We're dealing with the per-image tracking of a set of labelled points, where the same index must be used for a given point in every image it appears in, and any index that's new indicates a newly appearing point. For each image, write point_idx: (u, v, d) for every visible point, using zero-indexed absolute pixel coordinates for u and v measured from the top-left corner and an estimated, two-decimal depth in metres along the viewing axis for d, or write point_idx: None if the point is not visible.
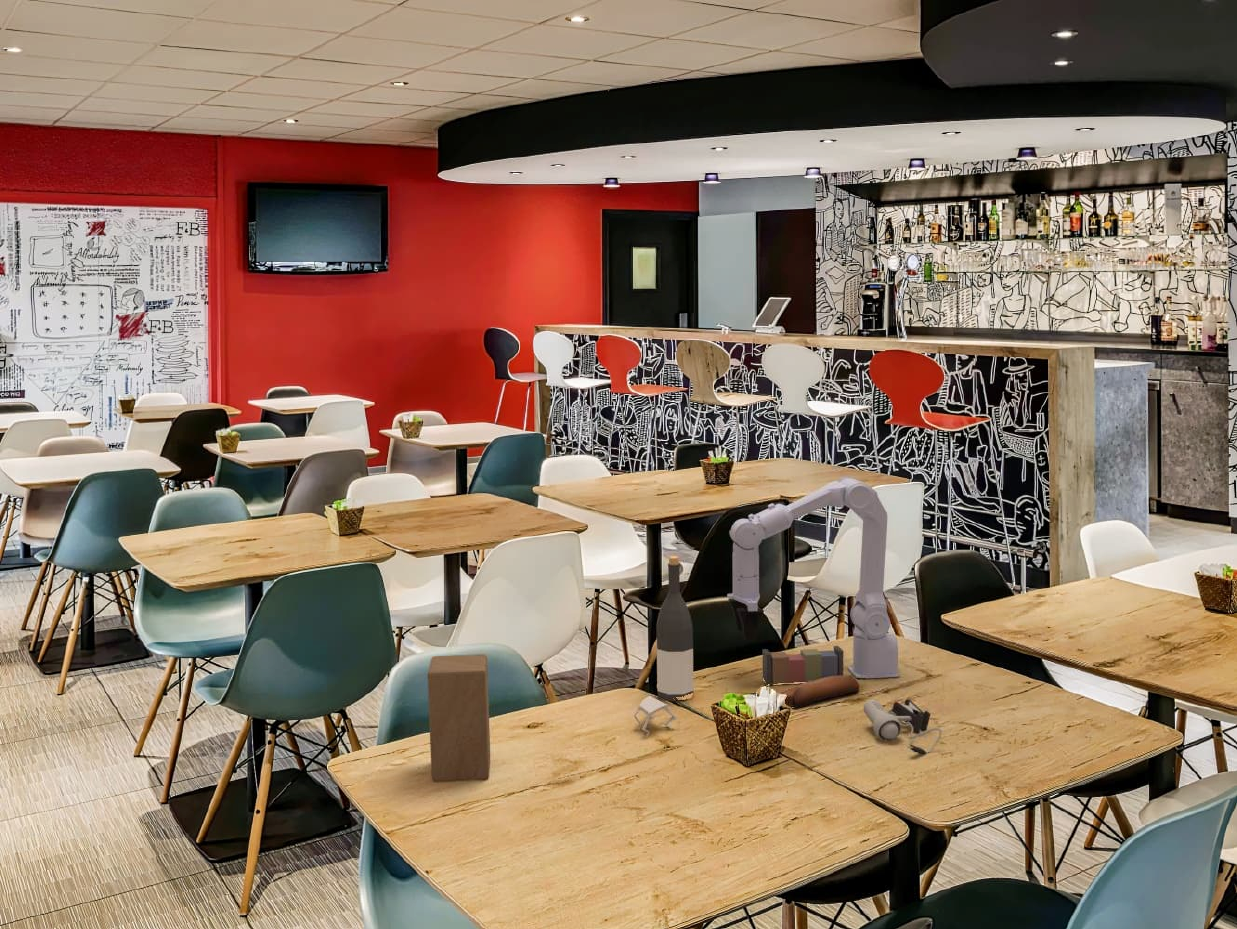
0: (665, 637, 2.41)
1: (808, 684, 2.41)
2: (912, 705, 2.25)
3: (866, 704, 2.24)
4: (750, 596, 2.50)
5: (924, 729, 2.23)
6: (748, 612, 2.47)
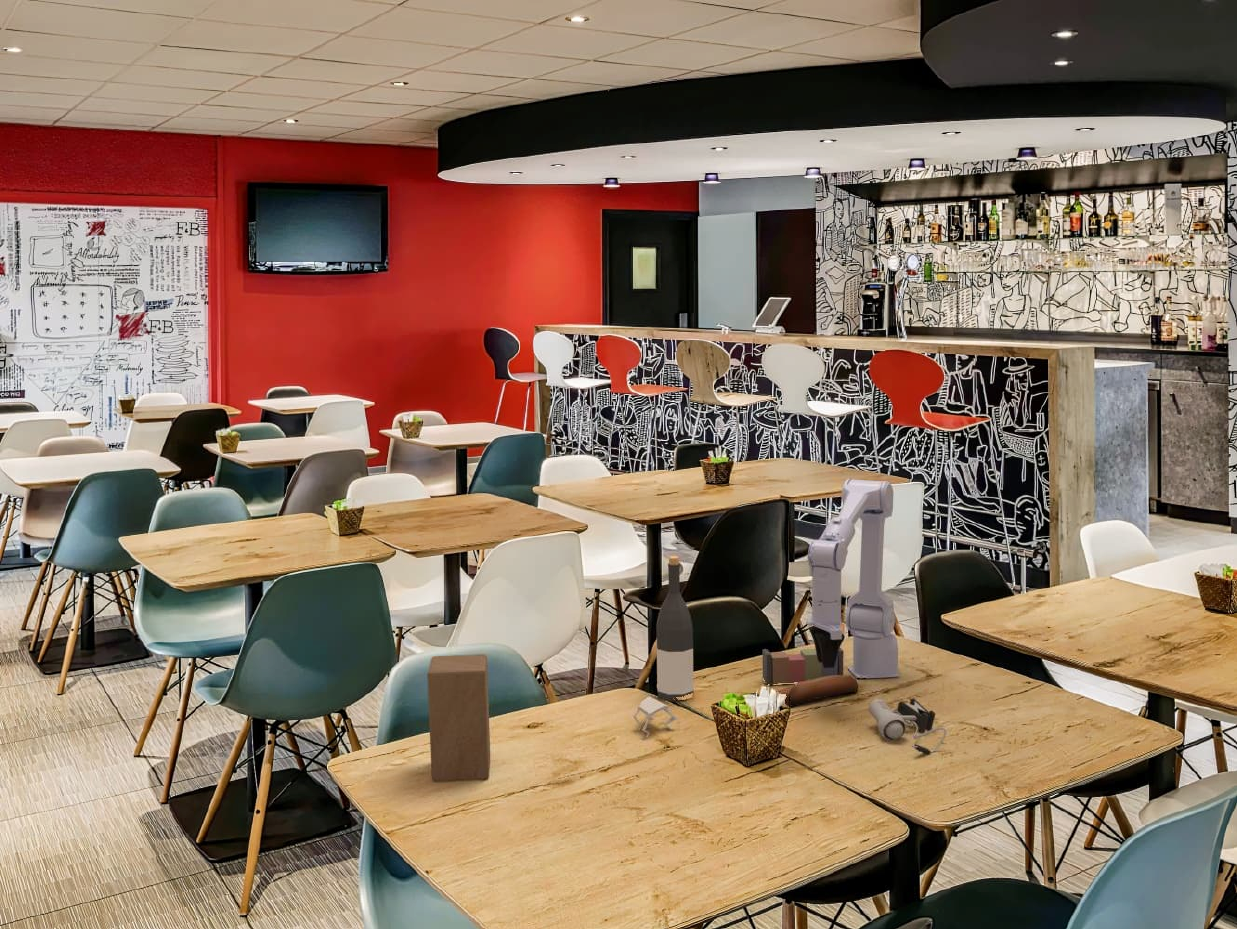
0: (665, 637, 2.41)
1: (806, 683, 2.42)
2: (917, 705, 2.26)
3: (871, 703, 2.25)
4: (832, 623, 2.31)
5: (929, 729, 2.23)
6: (828, 638, 2.30)
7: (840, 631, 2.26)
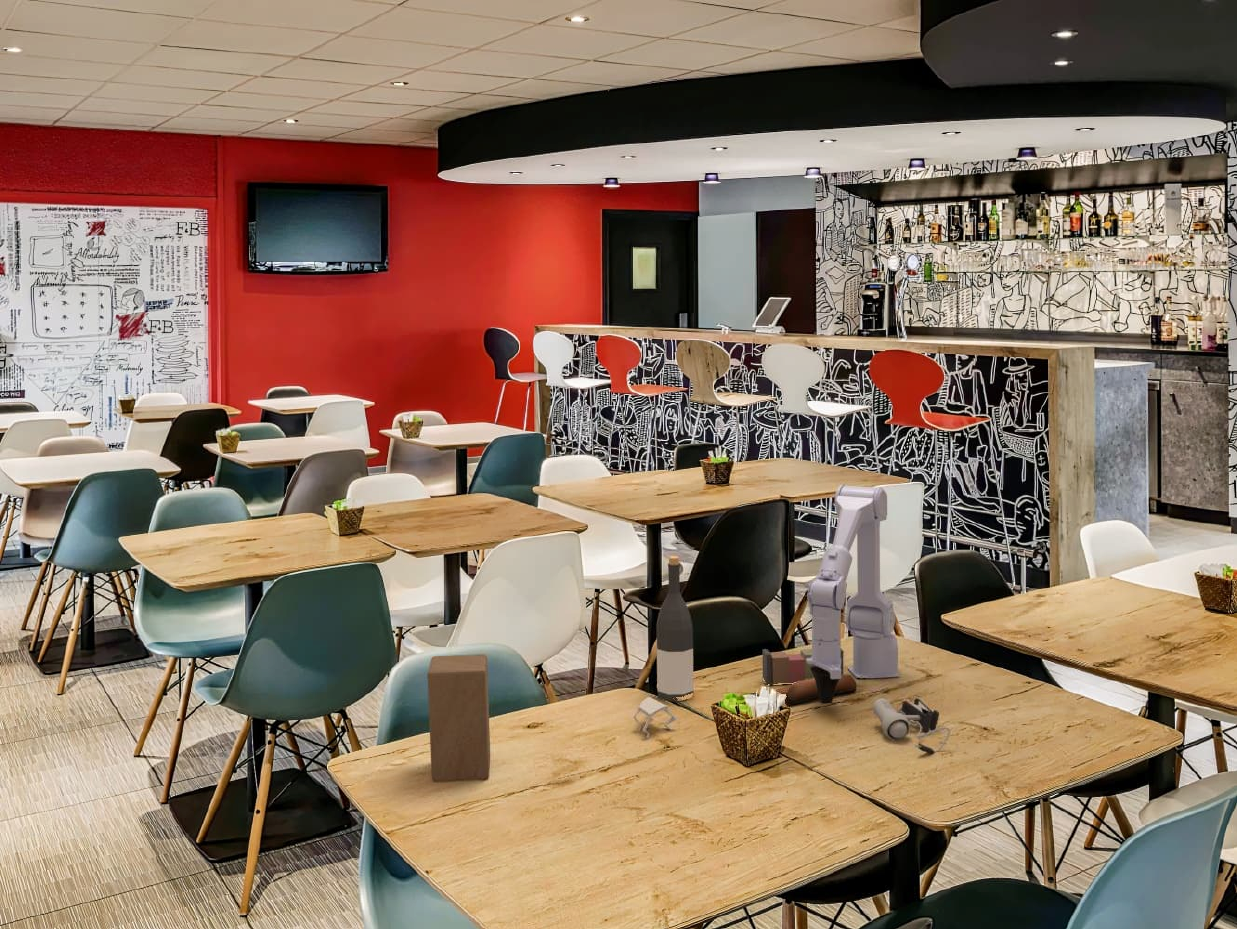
0: (665, 637, 2.41)
1: (804, 682, 2.42)
2: (921, 704, 2.26)
3: (875, 703, 2.25)
4: (832, 662, 2.32)
5: (933, 728, 2.23)
6: (826, 674, 2.32)
7: (840, 671, 2.28)
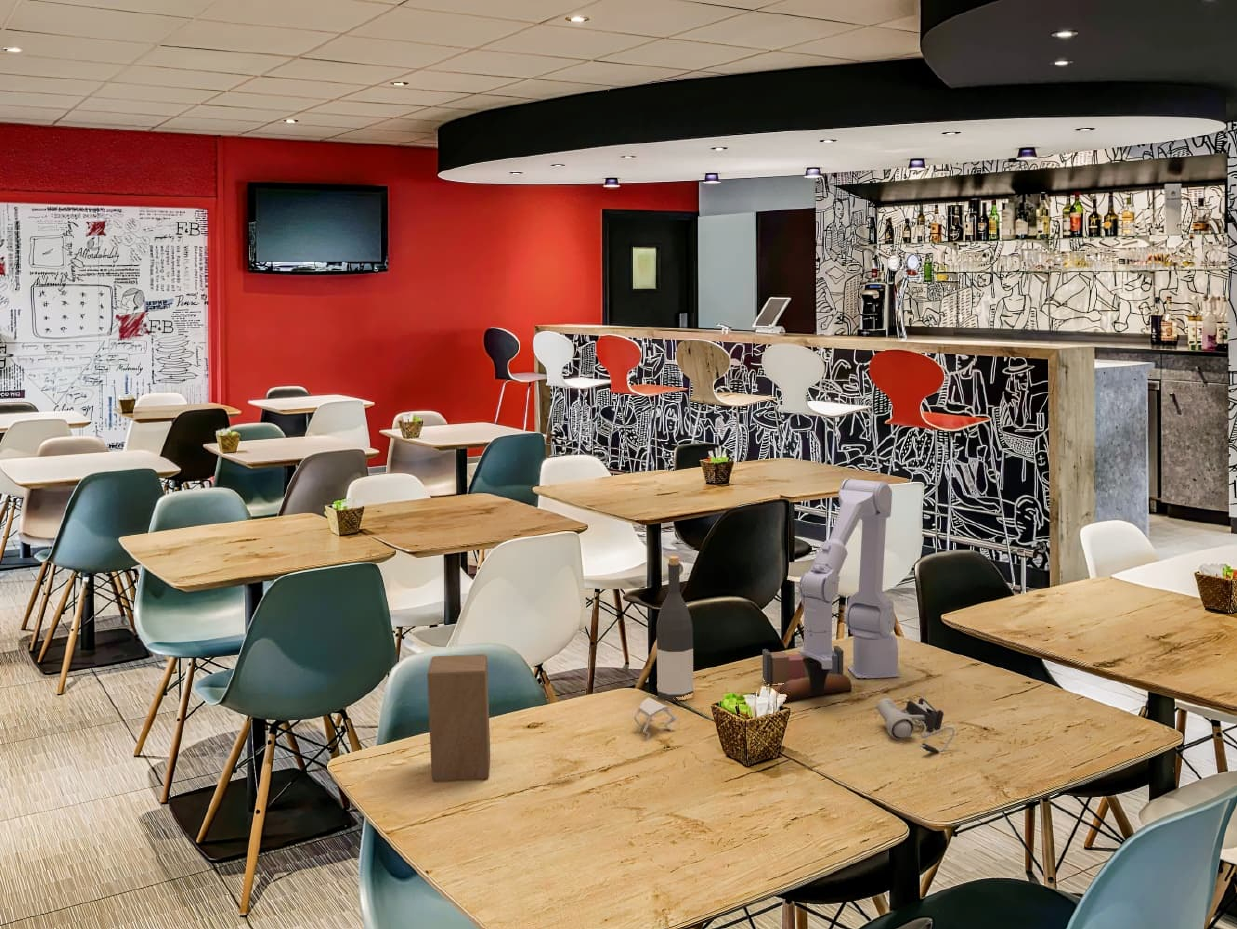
0: (665, 637, 2.41)
1: (797, 680, 2.44)
2: (926, 704, 2.26)
3: (880, 702, 2.25)
4: (823, 652, 2.38)
5: (937, 728, 2.23)
6: (817, 664, 2.38)
7: (831, 661, 2.33)
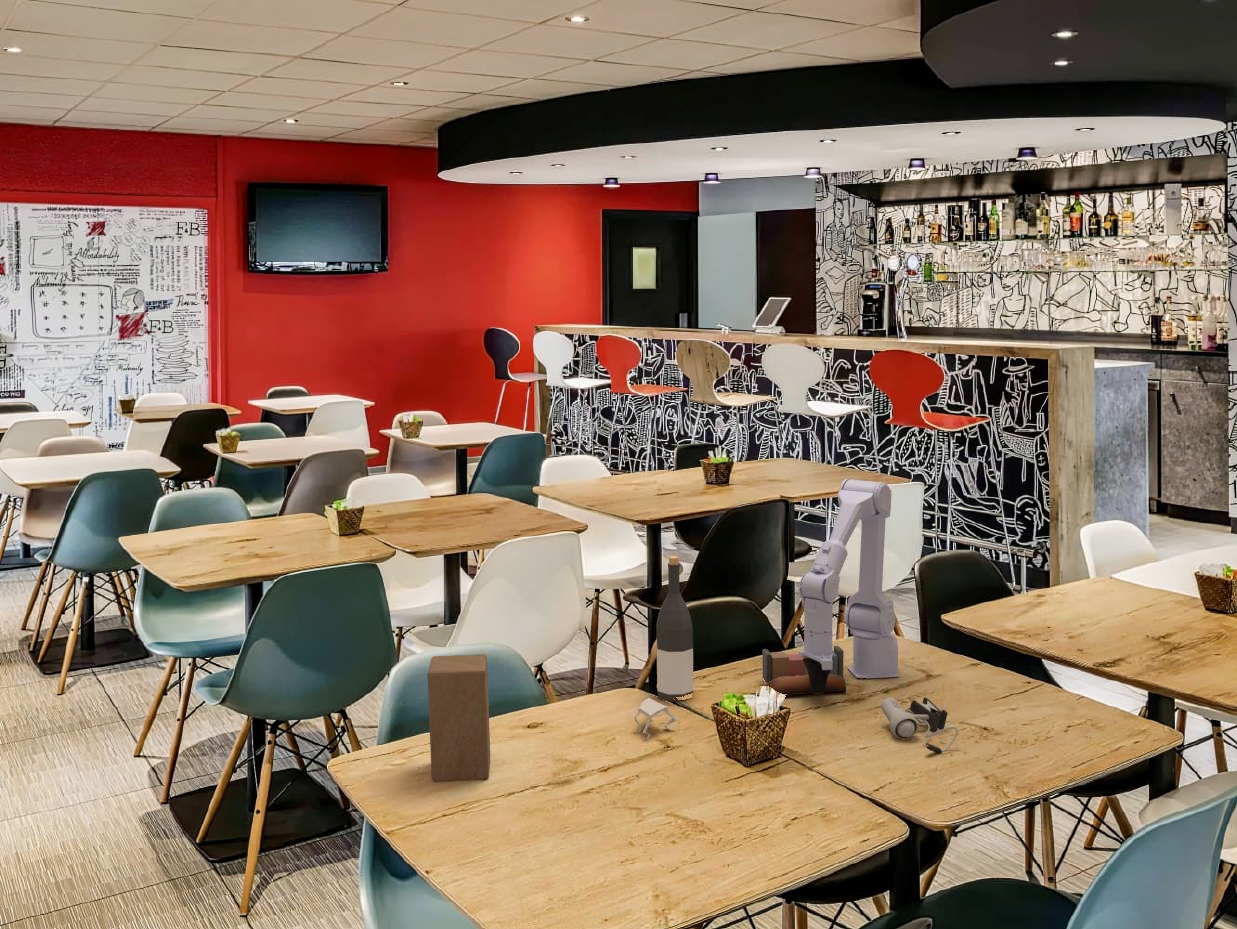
0: (665, 637, 2.41)
1: (788, 677, 2.45)
2: (930, 704, 2.26)
3: (883, 702, 2.25)
4: (823, 653, 2.37)
5: (941, 728, 2.23)
6: (817, 665, 2.38)
7: (831, 662, 2.33)
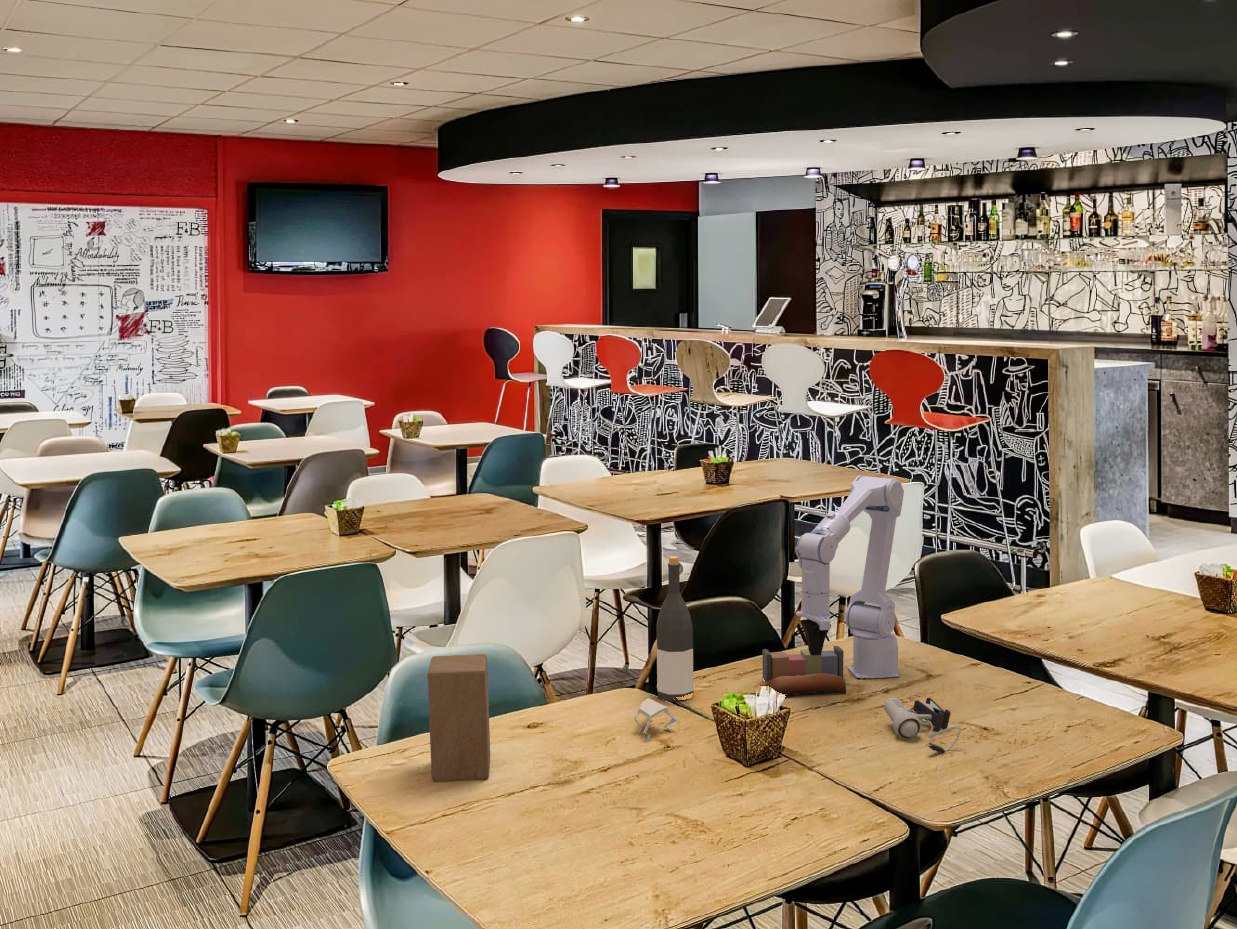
0: (665, 637, 2.41)
1: (788, 677, 2.45)
2: (933, 704, 2.26)
3: (886, 702, 2.25)
4: (821, 614, 2.38)
5: (944, 728, 2.23)
6: (815, 626, 2.38)
7: (829, 622, 2.34)
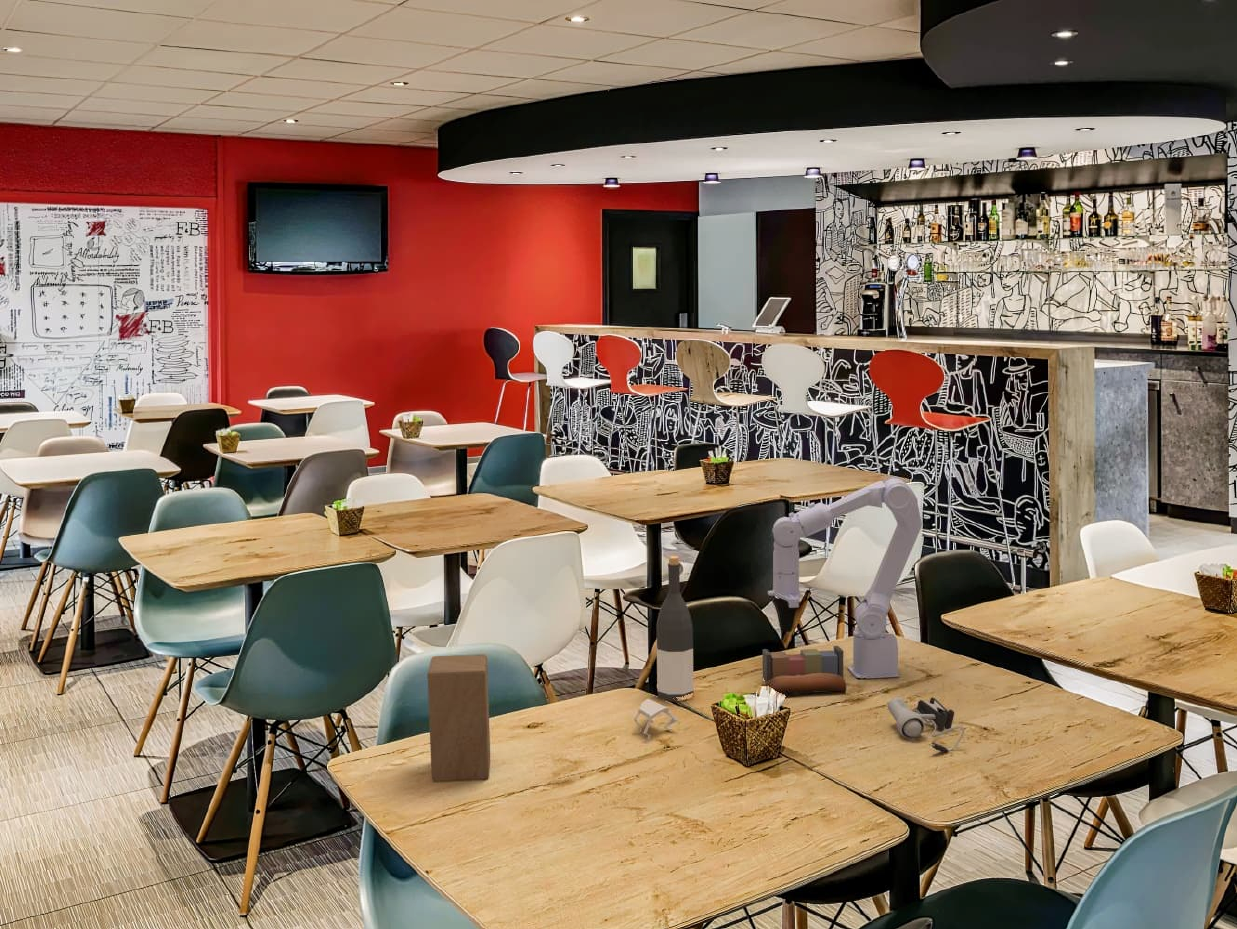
0: (665, 637, 2.41)
1: (788, 677, 2.46)
2: (937, 703, 2.26)
3: (890, 702, 2.25)
4: (791, 593, 2.55)
5: (948, 728, 2.23)
6: (785, 604, 2.56)
7: (797, 600, 2.51)
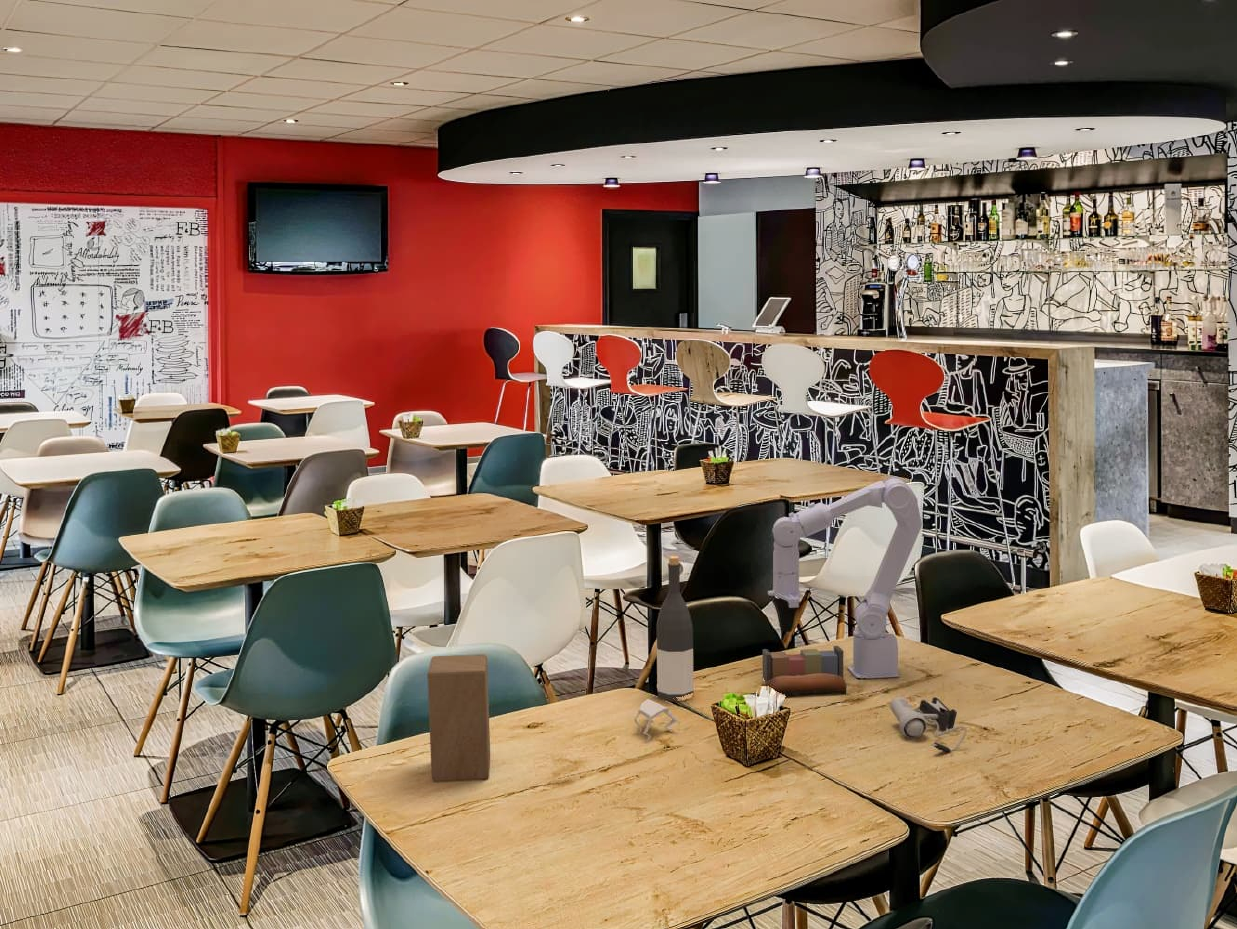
0: (665, 637, 2.41)
1: (788, 677, 2.46)
2: (939, 703, 2.26)
3: (893, 701, 2.25)
4: (791, 593, 2.55)
5: (951, 727, 2.23)
6: (785, 604, 2.56)
7: (797, 600, 2.51)
